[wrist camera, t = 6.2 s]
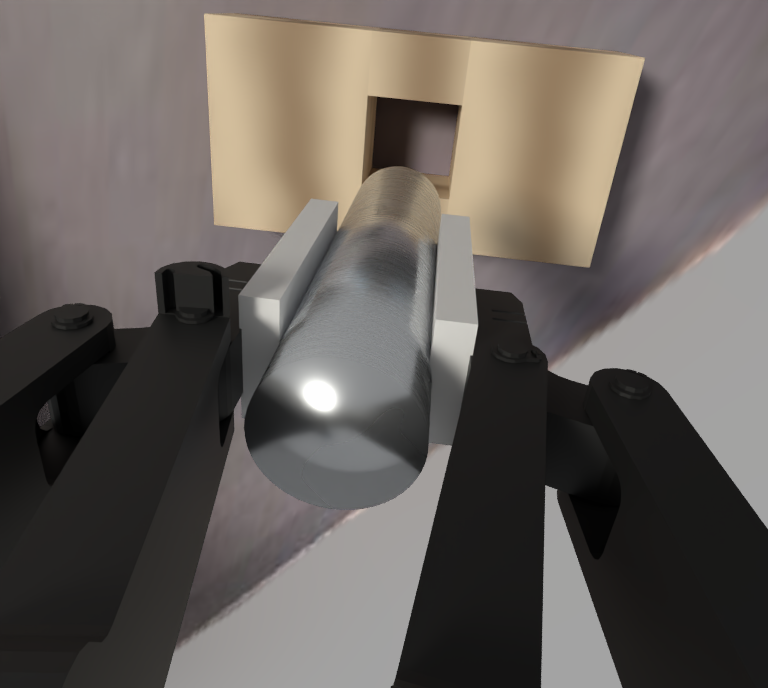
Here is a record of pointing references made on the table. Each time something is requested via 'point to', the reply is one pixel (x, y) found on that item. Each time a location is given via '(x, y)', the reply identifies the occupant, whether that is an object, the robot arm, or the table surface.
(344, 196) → the hole block
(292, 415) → the peg
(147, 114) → the table surface
